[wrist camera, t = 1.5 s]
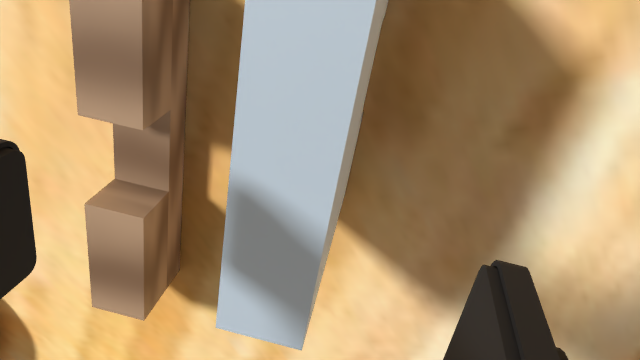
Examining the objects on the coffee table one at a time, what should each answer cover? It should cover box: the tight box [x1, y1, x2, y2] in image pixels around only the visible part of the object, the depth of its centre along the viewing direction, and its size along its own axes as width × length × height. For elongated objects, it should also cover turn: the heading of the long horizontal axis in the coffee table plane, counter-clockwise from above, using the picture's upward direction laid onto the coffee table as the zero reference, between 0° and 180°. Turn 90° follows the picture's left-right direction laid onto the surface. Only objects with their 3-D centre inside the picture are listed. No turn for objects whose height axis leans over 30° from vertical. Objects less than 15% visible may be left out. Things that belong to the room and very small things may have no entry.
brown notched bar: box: [69, 0, 190, 320], centre depth 24 cm, size 18×3×4 cm, turn 170°
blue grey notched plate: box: [216, 0, 388, 350], centre depth 18 cm, size 3×14×11 cm, turn 170°
